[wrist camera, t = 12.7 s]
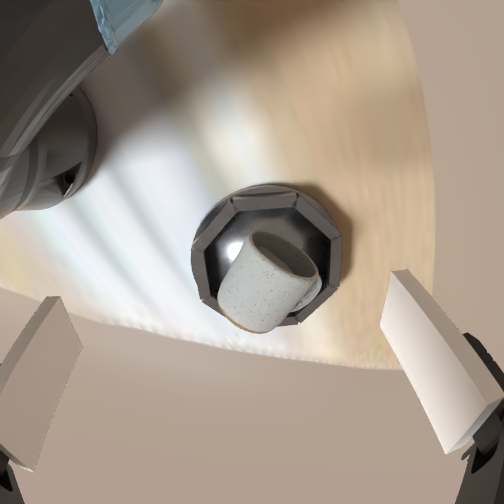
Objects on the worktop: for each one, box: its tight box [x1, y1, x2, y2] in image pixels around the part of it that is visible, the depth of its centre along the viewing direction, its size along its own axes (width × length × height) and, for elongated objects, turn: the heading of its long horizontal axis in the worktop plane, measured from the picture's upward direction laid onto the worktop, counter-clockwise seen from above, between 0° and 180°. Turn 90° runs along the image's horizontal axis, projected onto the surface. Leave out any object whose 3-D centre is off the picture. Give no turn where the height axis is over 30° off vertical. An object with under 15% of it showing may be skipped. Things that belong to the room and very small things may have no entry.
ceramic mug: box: [217, 229, 322, 334], centre depth 30 cm, size 11×8×8 cm
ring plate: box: [191, 185, 342, 327], centre depth 33 cm, size 17×17×2 cm
